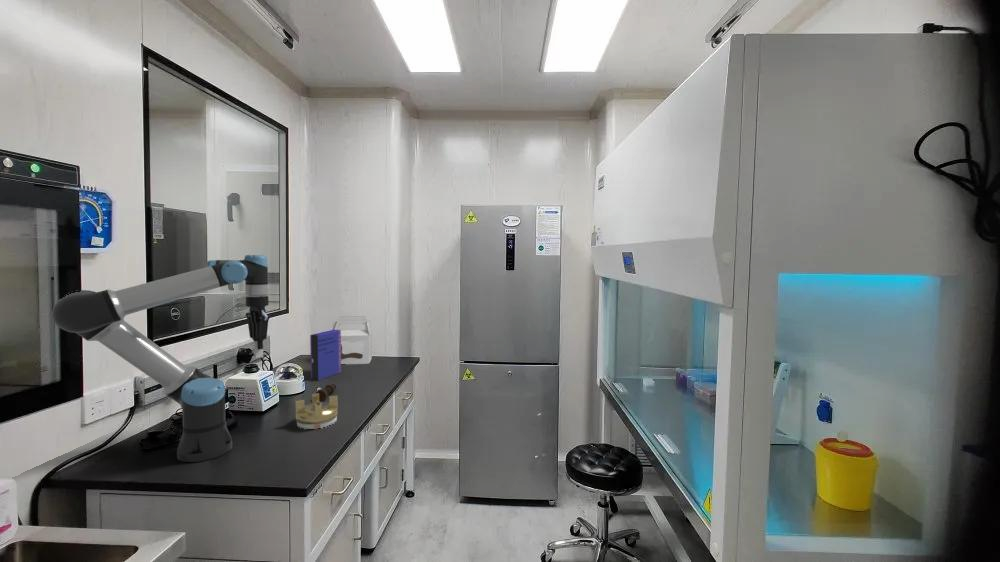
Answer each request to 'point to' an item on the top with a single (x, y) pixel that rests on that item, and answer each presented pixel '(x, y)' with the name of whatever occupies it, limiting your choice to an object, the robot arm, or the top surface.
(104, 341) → the robot arm
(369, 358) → the gable box
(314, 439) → the top surface
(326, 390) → the bolt
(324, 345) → the cereal box
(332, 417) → the ring nut
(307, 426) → the mounting flange
